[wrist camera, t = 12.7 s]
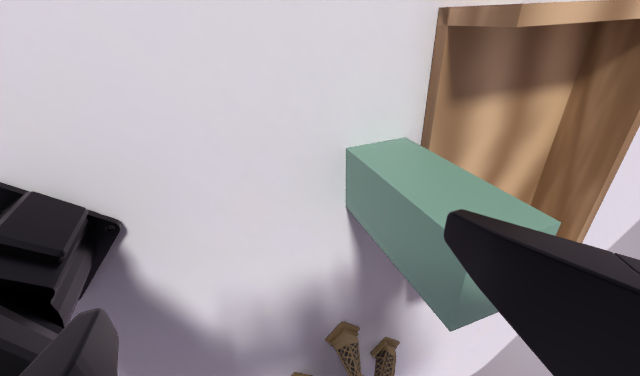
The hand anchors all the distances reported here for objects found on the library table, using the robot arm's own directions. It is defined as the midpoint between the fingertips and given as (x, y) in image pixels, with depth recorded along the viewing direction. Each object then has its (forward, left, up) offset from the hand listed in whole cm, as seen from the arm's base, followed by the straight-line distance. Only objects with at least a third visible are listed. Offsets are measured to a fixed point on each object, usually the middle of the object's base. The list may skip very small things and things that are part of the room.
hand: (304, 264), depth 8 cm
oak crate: (+9, -20, -13) cm, 25 cm away
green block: (+2, -11, -13) cm, 17 cm away
